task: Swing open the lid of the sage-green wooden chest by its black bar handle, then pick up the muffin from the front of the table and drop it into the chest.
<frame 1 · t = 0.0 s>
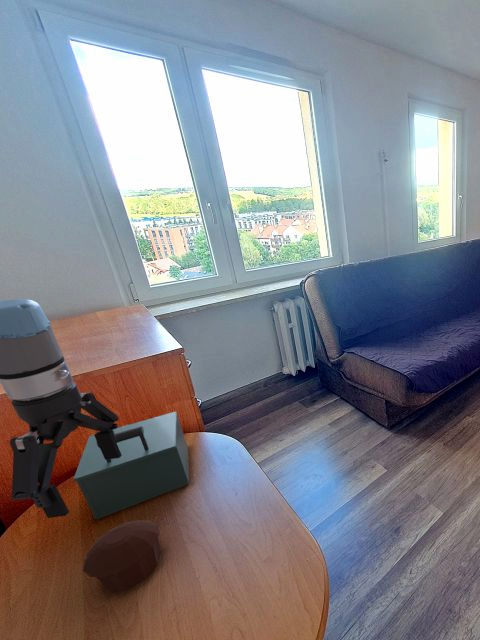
hand: (88, 483, 64), 21 cm above the table, tool pointing down, fingers open, 13 cm apart
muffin: (133, 569, 69), on the table
lid: (127, 431, 84), point 17 cm above the table, hinge at 0.0°
chest: (147, 479, 90), on the table
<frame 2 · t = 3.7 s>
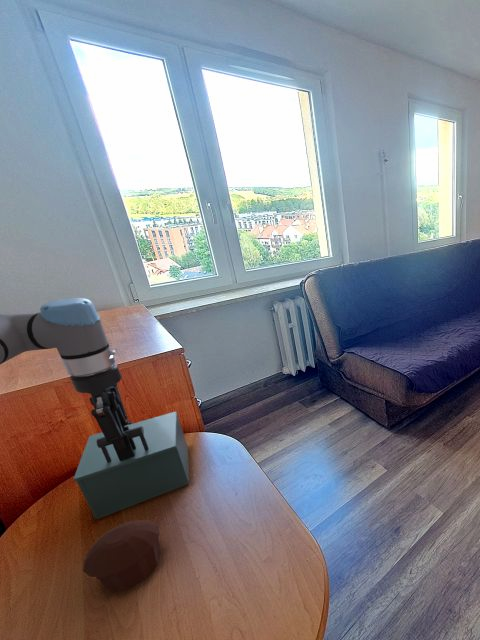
hand: (128, 454, 80), 14 cm above the table, tool pointing down, fingers closed on lid, 2 cm apart
lid: (127, 431, 84), point 17 cm above the table, hinge at 0.0°, touching gripper
everything else where it was.
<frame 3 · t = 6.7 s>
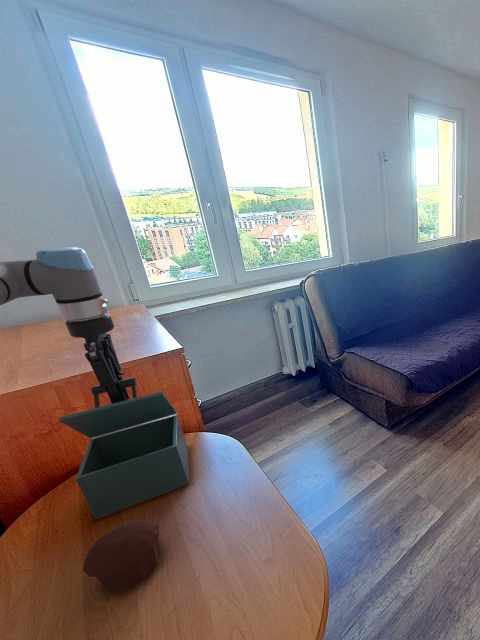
hand: (121, 402, 84), 23 cm above the table, tool pointing down, fingers closed on lid, 2 cm apart
lid: (124, 403, 86), point 22 cm above the table, hinge at 49.2°, touching gripper
everything else where it was.
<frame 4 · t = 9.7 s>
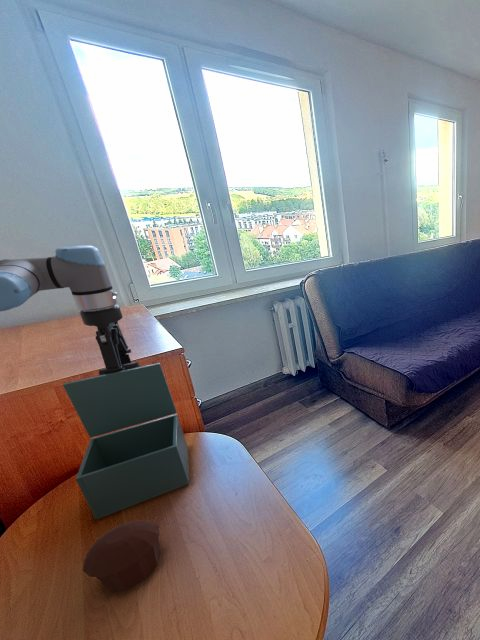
hand: (127, 382, 93), 23 cm above the table, tool pointing down, fingers open, 9 cm apart
lid: (126, 392, 91), point 22 cm above the table, hinge at 84.2°, touching gripper
everything else where it was.
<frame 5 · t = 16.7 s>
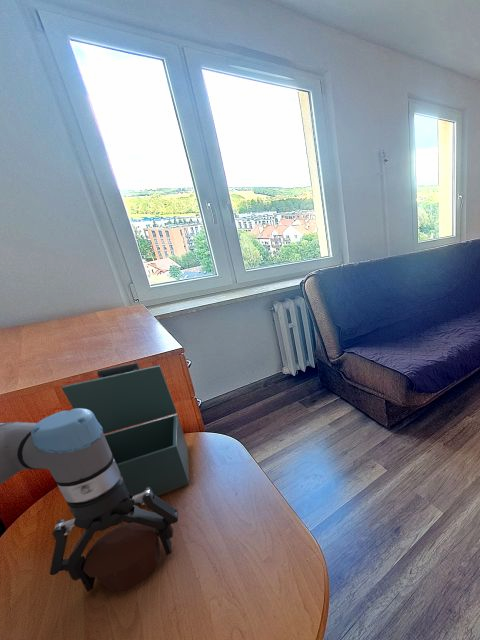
hand: (132, 565, 69), 1 cm above the table, tool pointing down, fingers closed on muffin, 12 cm apart
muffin: (133, 569, 69), on the table, touching gripper
lid: (126, 393, 90), point 22 cm above the table, hinge at 80.0°
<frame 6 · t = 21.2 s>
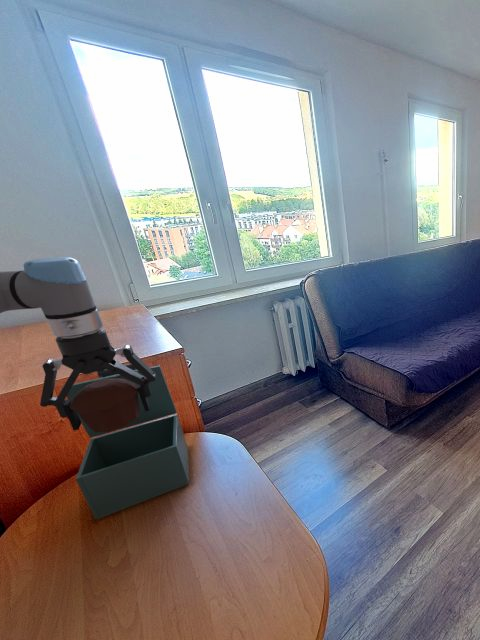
hand: (114, 417, 78), 24 cm above the table, tool pointing down, fingers closed on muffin, 12 cm apart
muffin: (115, 420, 78), point 23 cm above the table, touching gripper
everything else where it was.
when the fingers open (10 cm above the table, at t = 25.7 s): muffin drops 8 cm, resting on chest.
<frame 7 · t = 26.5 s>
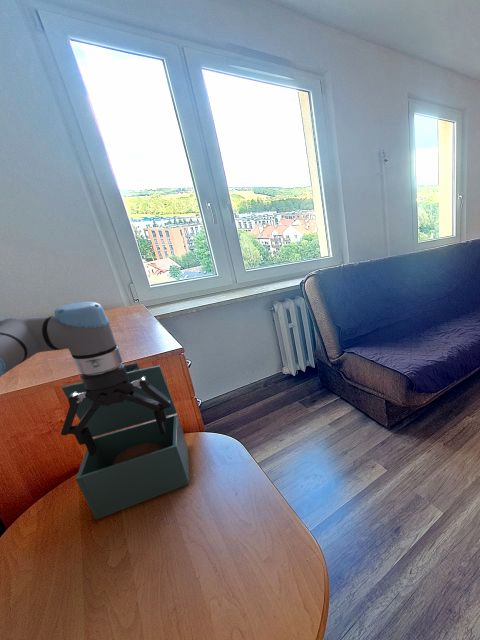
hand: (130, 441, 85), 14 cm above the table, tool pointing down, fingers open, 13 cm apart
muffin: (146, 479, 90), point 1 cm above the table, touching chest
everything else where it was.
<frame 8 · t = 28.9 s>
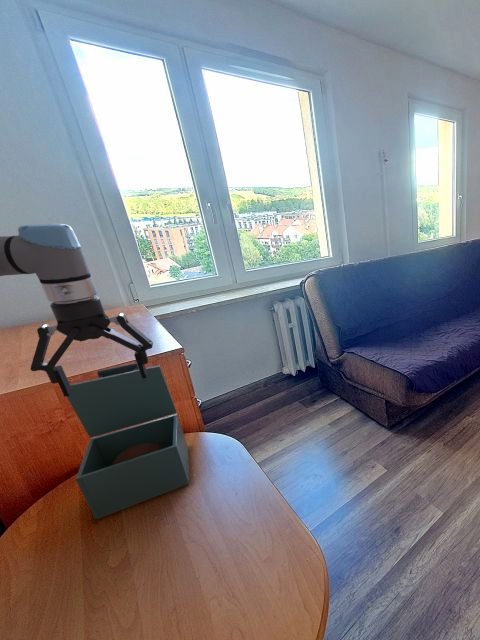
hand: (108, 384, 79), 31 cm above the table, tool pointing down, fingers open, 13 cm apart
nothing on the table moved.
at the end: lid at +80° (first picture: +0°); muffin inside the target area in the chest (0.8 cm from its centre), point 0.6 cm above the chest's base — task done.
